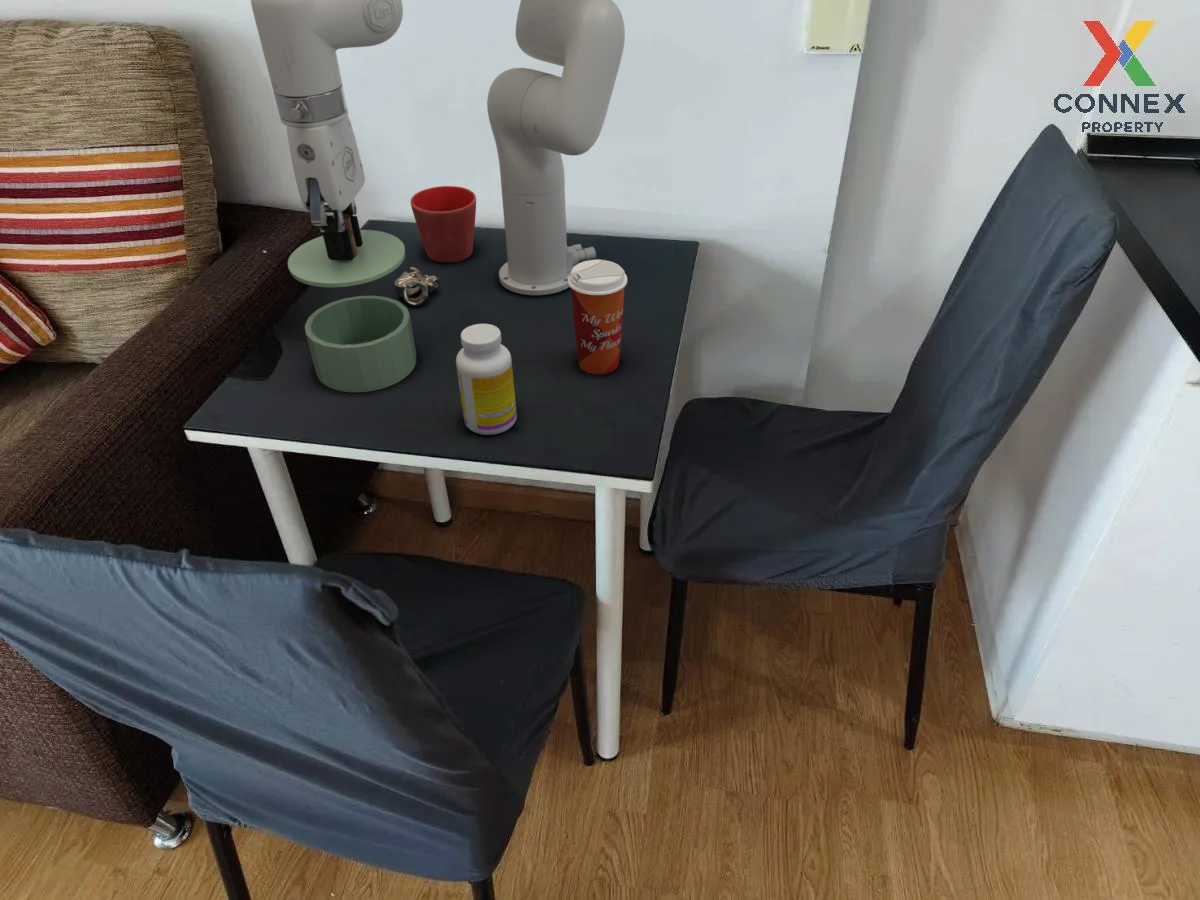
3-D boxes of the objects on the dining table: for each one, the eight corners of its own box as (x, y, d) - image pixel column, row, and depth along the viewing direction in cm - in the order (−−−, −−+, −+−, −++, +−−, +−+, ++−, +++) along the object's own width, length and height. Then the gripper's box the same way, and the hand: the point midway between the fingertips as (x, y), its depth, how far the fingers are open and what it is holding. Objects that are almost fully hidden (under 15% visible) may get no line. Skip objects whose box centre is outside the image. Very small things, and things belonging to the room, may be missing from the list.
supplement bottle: (528, 419, 109) (521, 331, 101) (490, 444, 105) (479, 355, 97) (491, 399, 112) (482, 313, 104) (453, 423, 109) (440, 335, 100)
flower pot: (492, 243, 149) (487, 189, 142) (464, 271, 141) (457, 215, 134) (437, 235, 151) (430, 181, 145) (406, 262, 143) (397, 206, 137)
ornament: (445, 303, 132) (442, 281, 130) (400, 311, 131) (397, 289, 128) (435, 280, 138) (432, 259, 136) (392, 287, 137) (389, 266, 134)
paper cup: (586, 384, 115) (584, 290, 106) (561, 357, 120) (557, 265, 111) (637, 369, 118) (639, 276, 109) (611, 343, 123) (610, 252, 114)
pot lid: (351, 228, 118) (342, 185, 114) (430, 255, 111) (422, 209, 107) (265, 272, 109) (251, 226, 105) (345, 303, 102) (333, 255, 98)
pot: (368, 329, 127) (359, 286, 122) (436, 357, 121) (430, 313, 116) (295, 372, 118) (283, 327, 114) (364, 404, 112) (354, 358, 108)
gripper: (320, 129, 91) (356, 284, 103) (365, 81, 103) (392, 224, 115) (251, 128, 91) (295, 283, 103) (304, 81, 104) (337, 224, 116)
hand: (346, 251), depth 109 cm, fingers closed on pot lid, 2 cm apart
